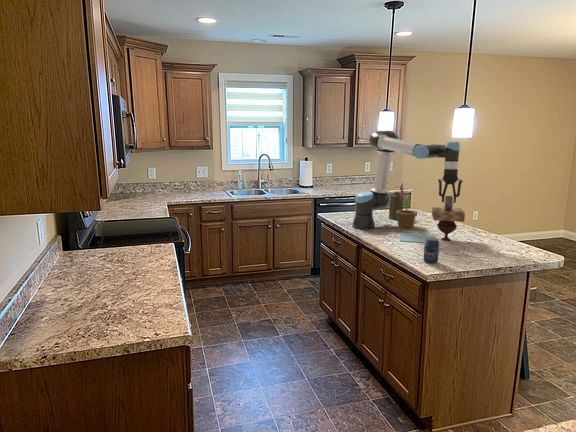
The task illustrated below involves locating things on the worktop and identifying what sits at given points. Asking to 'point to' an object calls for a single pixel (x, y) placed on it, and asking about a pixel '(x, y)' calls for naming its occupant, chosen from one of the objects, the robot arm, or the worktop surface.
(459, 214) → the lid
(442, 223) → the ice cream bowl
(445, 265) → the worktop surface
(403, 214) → the flowerpot
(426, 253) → the soda can
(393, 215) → the canister
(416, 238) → the mat
